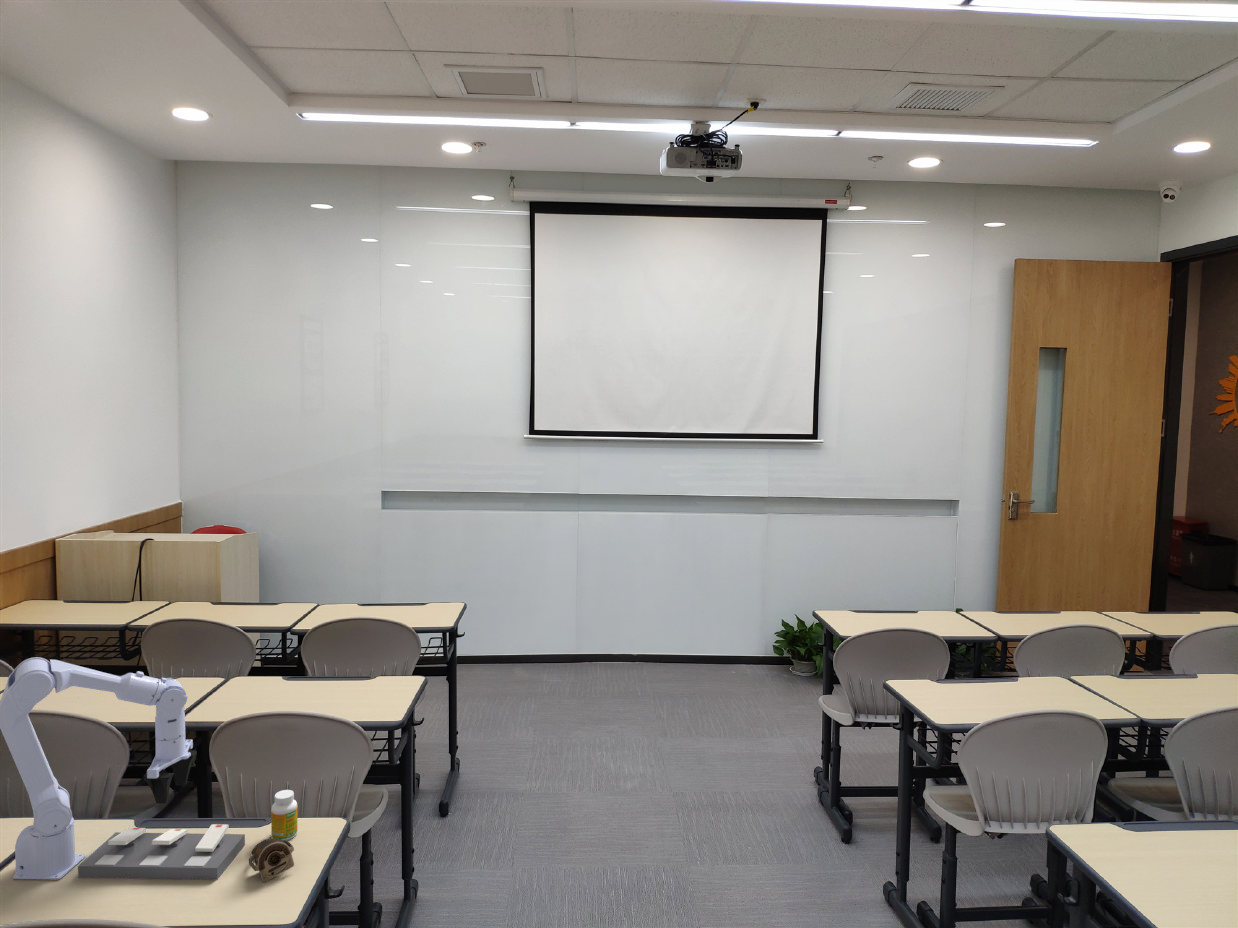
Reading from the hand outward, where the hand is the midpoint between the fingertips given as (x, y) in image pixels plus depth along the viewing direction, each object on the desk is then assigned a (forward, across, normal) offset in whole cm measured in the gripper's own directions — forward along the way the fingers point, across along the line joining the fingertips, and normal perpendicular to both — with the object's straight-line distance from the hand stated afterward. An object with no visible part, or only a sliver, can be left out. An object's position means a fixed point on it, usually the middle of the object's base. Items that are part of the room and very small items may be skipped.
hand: (171, 793), depth 169 cm
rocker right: (+6, -8, -13) cm, 16 cm away
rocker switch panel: (+9, -10, -4) cm, 14 cm away
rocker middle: (+6, -8, -4) cm, 11 cm away
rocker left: (+6, -8, +5) cm, 11 cm away
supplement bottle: (+10, 0, -25) cm, 27 cm away
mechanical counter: (+10, -11, -27) cm, 30 cm away
